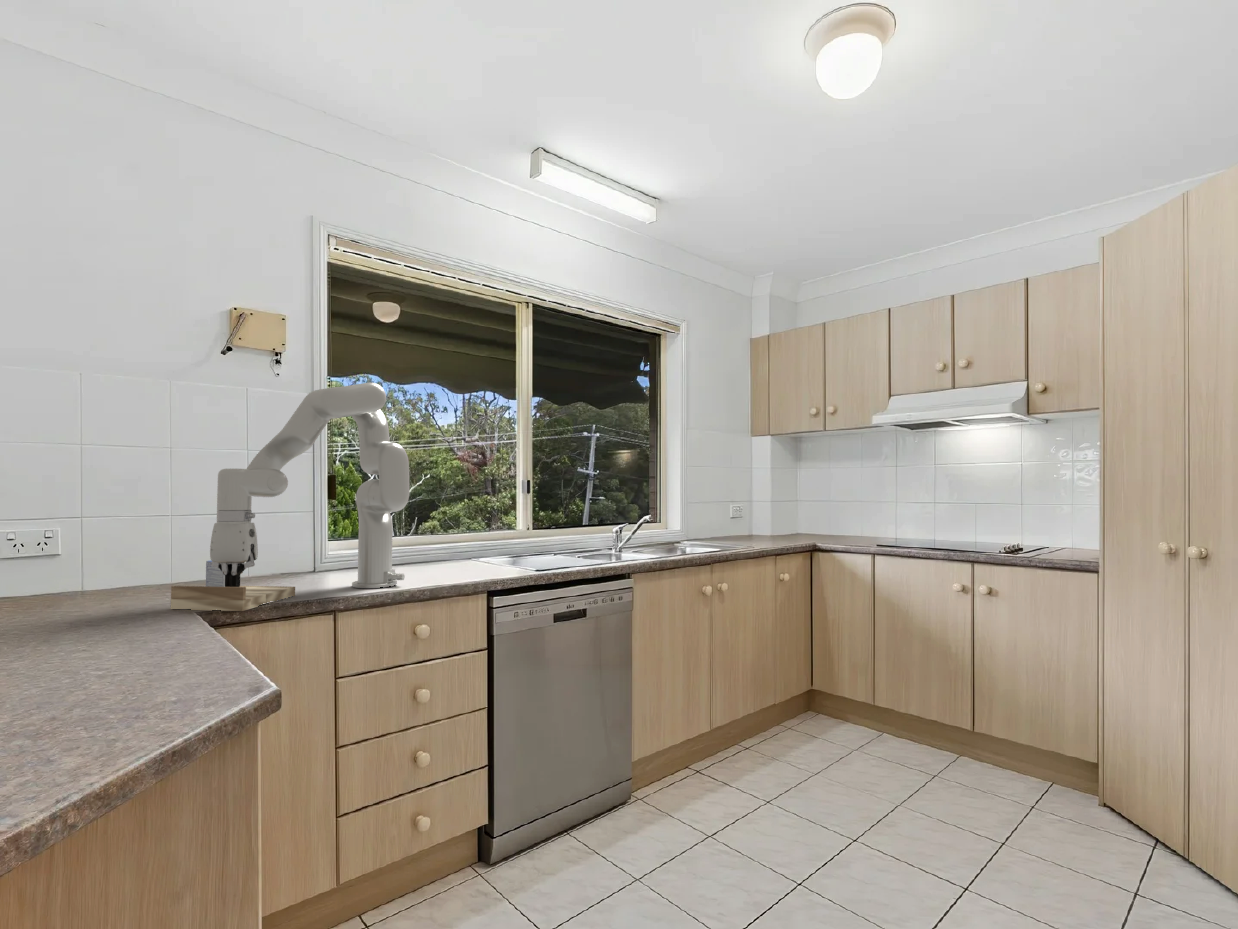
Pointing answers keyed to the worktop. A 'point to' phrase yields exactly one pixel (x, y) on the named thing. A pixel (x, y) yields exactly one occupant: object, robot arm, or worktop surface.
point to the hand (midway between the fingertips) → (232, 590)
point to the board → (226, 597)
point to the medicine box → (214, 576)
